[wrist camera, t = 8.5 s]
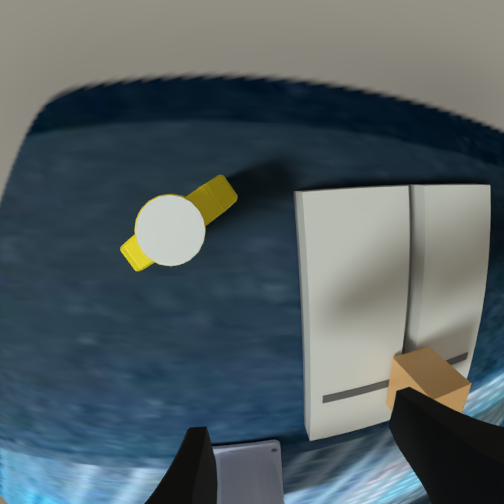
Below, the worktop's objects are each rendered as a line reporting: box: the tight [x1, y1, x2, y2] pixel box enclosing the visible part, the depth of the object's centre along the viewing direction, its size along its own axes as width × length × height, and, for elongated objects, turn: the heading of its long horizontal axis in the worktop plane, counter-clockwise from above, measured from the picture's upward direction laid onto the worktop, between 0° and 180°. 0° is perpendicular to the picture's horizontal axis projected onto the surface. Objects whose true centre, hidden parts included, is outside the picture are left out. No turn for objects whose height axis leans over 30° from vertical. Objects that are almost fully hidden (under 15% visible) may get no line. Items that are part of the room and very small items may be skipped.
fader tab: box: [386, 347, 471, 413], centre depth 17 cm, size 4×3×7 cm
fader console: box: [293, 184, 490, 441], centre depth 19 cm, size 17×14×2 cm
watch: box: [120, 175, 238, 271], centre depth 15 cm, size 6×3×6 cm, turn 124°
